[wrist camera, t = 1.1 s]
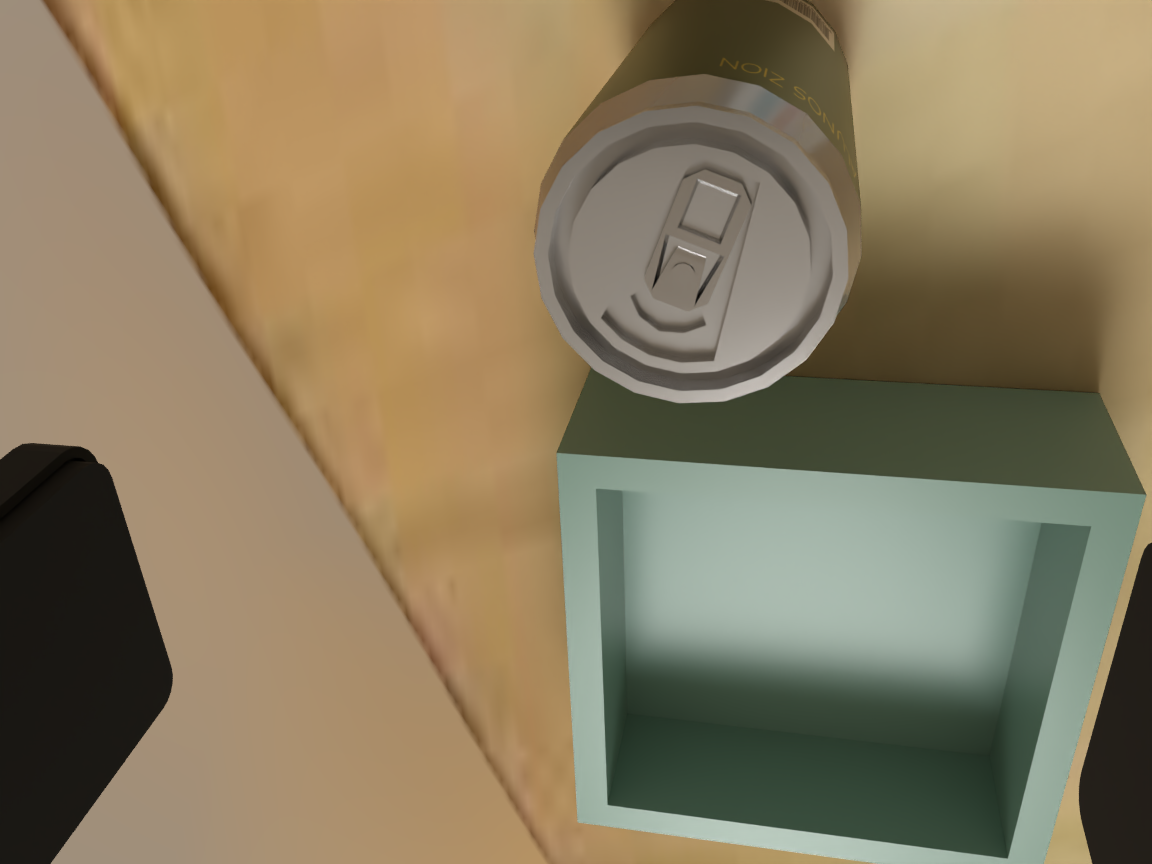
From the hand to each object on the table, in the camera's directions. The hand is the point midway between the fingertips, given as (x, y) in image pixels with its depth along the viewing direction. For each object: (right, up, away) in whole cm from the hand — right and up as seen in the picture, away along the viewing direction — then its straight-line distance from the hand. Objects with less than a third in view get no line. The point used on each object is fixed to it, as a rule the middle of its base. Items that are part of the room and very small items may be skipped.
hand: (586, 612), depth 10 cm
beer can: (+4, +10, +17) cm, 20 cm away
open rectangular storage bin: (+8, -3, +24) cm, 25 cm away
